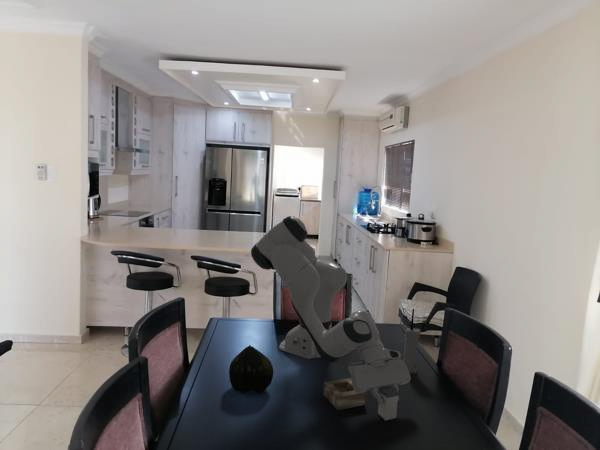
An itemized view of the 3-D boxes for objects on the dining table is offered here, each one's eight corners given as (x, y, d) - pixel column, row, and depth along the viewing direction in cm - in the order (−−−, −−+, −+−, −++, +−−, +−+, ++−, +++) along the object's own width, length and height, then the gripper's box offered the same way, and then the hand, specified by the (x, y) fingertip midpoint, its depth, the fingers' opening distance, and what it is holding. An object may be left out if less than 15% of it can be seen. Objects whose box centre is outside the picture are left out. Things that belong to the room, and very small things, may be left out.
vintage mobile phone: (416, 374, 164) (422, 311, 161) (403, 372, 165) (408, 309, 162) (415, 370, 167) (421, 308, 165) (402, 368, 168) (408, 306, 166)
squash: (259, 391, 134) (271, 345, 142) (216, 383, 138) (230, 339, 146) (271, 403, 145) (281, 359, 153) (231, 396, 149) (243, 354, 158)
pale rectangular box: (377, 413, 135) (380, 388, 134) (388, 411, 136) (390, 386, 135) (385, 420, 131) (387, 394, 130) (396, 418, 133) (398, 392, 132)
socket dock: (323, 394, 144) (324, 382, 144) (348, 390, 148) (349, 378, 148) (337, 410, 135) (338, 396, 135) (364, 405, 139) (365, 391, 139)
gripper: (350, 359, 134) (365, 404, 126) (403, 351, 142) (420, 393, 134) (342, 366, 138) (356, 410, 131) (394, 358, 147) (410, 399, 139)
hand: (389, 402), depth 132 cm, fingers closed on pale rectangular box, 4 cm apart
